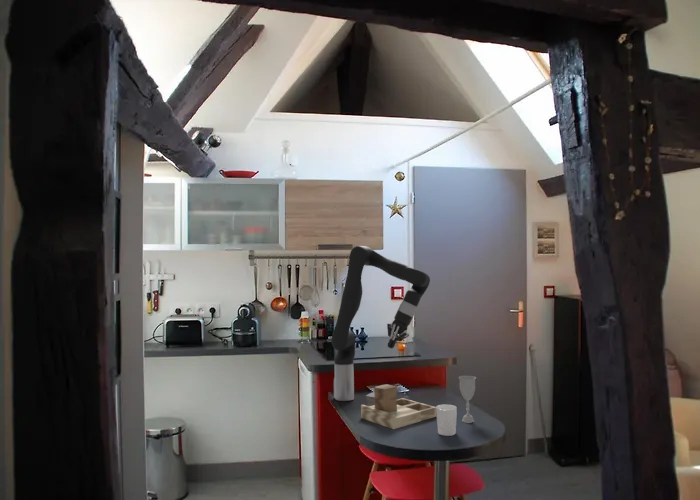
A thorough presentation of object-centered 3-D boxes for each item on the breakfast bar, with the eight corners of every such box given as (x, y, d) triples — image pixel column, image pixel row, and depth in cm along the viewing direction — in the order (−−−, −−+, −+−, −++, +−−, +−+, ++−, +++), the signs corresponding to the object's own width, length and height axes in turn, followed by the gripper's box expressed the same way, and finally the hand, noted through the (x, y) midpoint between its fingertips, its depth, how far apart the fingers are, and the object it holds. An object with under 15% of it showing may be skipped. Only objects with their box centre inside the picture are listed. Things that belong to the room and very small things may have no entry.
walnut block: (374, 410, 221) (374, 386, 221) (387, 407, 225) (386, 384, 225) (384, 414, 216) (384, 389, 216) (396, 410, 221) (396, 386, 221)
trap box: (361, 417, 225) (360, 405, 225) (402, 406, 241) (402, 394, 241) (393, 429, 210) (393, 415, 210) (436, 416, 226) (435, 403, 226)
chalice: (477, 419, 221) (477, 376, 221) (476, 424, 214) (475, 379, 215) (460, 418, 223) (459, 375, 223) (458, 422, 217) (457, 378, 217)
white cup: (434, 430, 208) (433, 404, 208) (453, 429, 208) (453, 403, 209) (439, 437, 200) (438, 410, 200) (459, 436, 201) (459, 409, 201)
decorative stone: (365, 413, 233) (388, 413, 232) (364, 397, 233) (387, 397, 232) (368, 404, 247) (389, 404, 246) (367, 389, 248) (388, 389, 247)
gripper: (390, 305, 241) (375, 340, 241) (410, 315, 231) (394, 351, 231) (401, 309, 246) (385, 343, 246) (420, 319, 236) (404, 355, 236)
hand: (389, 347), depth 238 cm, fingers closed
